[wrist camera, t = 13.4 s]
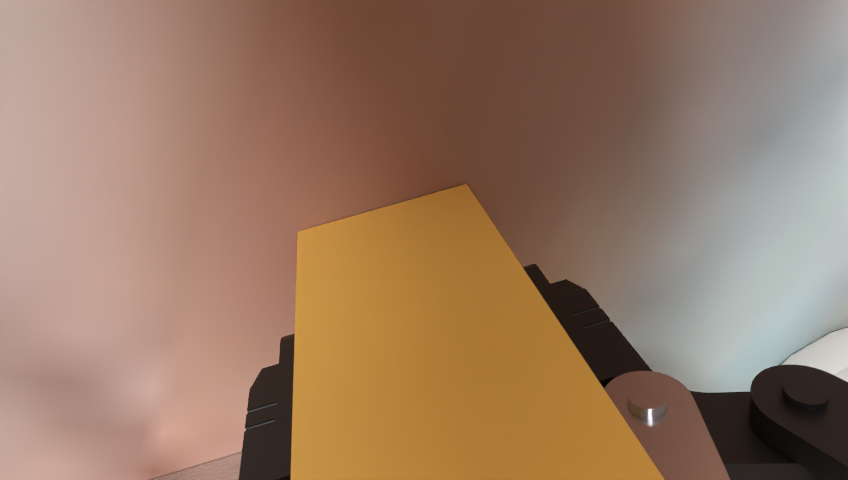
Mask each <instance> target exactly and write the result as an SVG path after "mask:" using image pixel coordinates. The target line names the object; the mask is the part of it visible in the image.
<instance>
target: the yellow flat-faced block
mask: <svg viewBox="0 0 848 480" xmlns="http://www.w3.org/2000/svg"><path fill="white" fill-rule="evenodd" d="M291 480H665V479H664V478H663V476H662V475H661V473H660V472H659V470H658V469H657V467H656V466H655V464H654V463H653V461H652V460H651V458H650V457H649V455H648V454H647V452H646V451H645V449H644V448H643V446H642V445H641V444H640V442H639V441H638V439H637V438H636V436H635V435H634V433H633V432H632V430H631V429H630V427H629V426H628V424H627V423H626V421H625V420H624V418H623V417H622V415H621V414H620V412H619V411H618V409H617V408H616V406H615V405H614V403H613V402H612V400H611V399H610V397H609V396H608V394H607V393H606V391H605V390H604V388H603V387H602V385H601V384H600V382H599V381H598V379H597V378H596V376H595V375H594V373H593V372H592V370H591V369H590V367H589V366H588V364H587V363H586V361H585V360H584V358H583V357H582V355H581V354H580V352H579V351H578V349H577V348H576V346H575V345H574V343H573V342H572V340H571V339H570V337H569V336H568V334H567V333H566V331H565V330H564V328H563V327H562V325H561V324H560V322H559V321H558V319H557V318H556V317H555V315H554V314H553V312H552V311H551V309H550V308H549V306H548V305H547V303H546V302H545V300H544V299H543V297H542V296H541V294H540V293H539V291H538V290H537V288H536V287H535V285H534V284H533V282H532V281H531V279H530V278H529V276H528V275H527V273H526V272H525V270H524V269H523V267H522V266H521V264H520V263H519V261H518V260H517V258H516V257H515V255H514V254H513V252H512V251H511V249H510V248H509V246H508V245H507V243H506V242H505V240H504V239H503V237H502V236H501V234H500V233H499V231H498V230H497V228H496V227H495V225H494V224H493V222H492V221H491V219H490V218H489V216H488V215H487V213H486V212H485V210H484V209H483V207H482V206H481V204H480V203H479V201H478V200H477V198H476V197H475V195H474V194H473V192H472V191H471V190H470V188H469V187H468V185H467V184H464V185H460V186H457V187H453V188H450V189H446V190H443V191H439V192H436V193H432V194H429V195H425V196H422V197H418V198H414V199H411V200H407V201H404V202H400V203H397V204H393V205H390V206H386V207H383V208H379V209H376V210H372V211H369V212H365V213H362V214H358V215H354V216H351V217H347V218H344V219H340V220H337V221H333V222H330V223H326V224H323V225H319V226H316V227H312V228H309V229H305V230H301V231H298V238H297V272H296V307H295V341H294V376H293V411H292V445H291Z"/></svg>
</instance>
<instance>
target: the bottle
mask: <svg viewBox="0 0 848 480" xmlns="http://www.w3.org/2000/svg"><path fill="white" fill-rule="evenodd" d="M788 364H789V365H803V366H809V367H813V368H817V369H820V370H823V371H826V372H828V373H830V374H832V375H835V376H837V377H839V378H841V379H843V380H845V381H846V382H848V327H847V328H844V329H841V330H837V331H834V332H831V333H828V334H826V335H825V336H823V337H821V338H820V339H818V340H816V341H814V342H813V343H811V344H809V345H808V346H806V347H804V348H803V349H801V350H799V351H797V352H796V353H794V354H792V355H791V356H790V357H789V358H788V359H786V360H785V361H784V362H783V363H782V364H781V365H788Z"/></svg>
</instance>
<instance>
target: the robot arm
mask: <svg viewBox="0 0 848 480" xmlns="http://www.w3.org/2000/svg"><path fill="white" fill-rule="evenodd" d="M523 269H524V270H525V272H526V273H527V275H528V276H529V278H530V279H531V281H532V282H533V284H534V285H535V287H536V288H537V290H538V291H539V293H540V294H541V296H542V297H543V299H544V300H545V302H546V303H547V305H548V306H549V308H550V309H551V311H552V312H553V314H554V315H555V317H556V318H557V319H558V321H559V322H560V324H561V325H562V327H563V328H564V330H565V331H566V333H567V334H568V336H569V337H570V339H571V340H572V342H573V343H574V345H575V346H576V348H577V349H578V351H579V352H580V354H581V355H582V357H583V358H584V360H585V361H586V363H587V364H588V366H589V367H590V369H591V370H592V372H593V373H594V375H595V376H596V378H597V379H598V381H599V382H600V384H601V385H602V387H603V388H604V390H605V391H606V393H607V394H608V396H609V397H610V399H611V400H612V402H613V403H614V405H615V406H616V408H617V409H618V411H619V412H620V414H621V415H622V417H623V418H624V420H625V421H626V423H627V424H628V426H629V427H630V429H631V430H632V432H633V433H634V435H635V436H636V438H637V439H638V441H639V442H640V444H641V445H642V446H643V448H644V449H645V451H646V452H647V454H648V455H649V457H650V458H651V460H652V461H653V463H654V464H655V466H656V467H657V469H658V470H659V472H660V473H661V475H662V476H663V478H664V479H665V480H848V382H846V381H845V380H843V379H841V378H839V377H837V376H835V375H832V374H830V373H828V372H826V371H823V370H820V369H817V368H813V367H809V366H803V365H789V364H788V365H778V366H774V367H770V368H768V369H765V370H763V371H762V372H760V373H759V374H758V375H757V376H756V377H755V378H754V380H753V381H752V385H751V391H750V392H726V393H701V392H693V391H689V390H688V389H687V388H686V387H685V386H684V385H683V384H682V383H680V382H679V381H677V380H676V379H674V378H672V377H670V376H667V375H665V374H661V373H657V372H653V371H652V370H651V369H650V368H649V367H648V365H647V364H646V363H645V362H644V360H643V359H642V358H641V357H640V356H639V354H638V353H637V352H636V351H635V349H634V348H633V347H632V346H631V344H630V343H629V342H628V341H627V339H626V338H625V337H624V336H623V335H622V333H621V332H620V331H619V330H618V328H617V327H616V326H615V325H614V323H613V322H610V319H609V317H608V316H607V315H606V313H605V312H604V311H603V310H602V309H600V308H599V305H598V304H597V302H596V301H595V300H594V299H593V297H592V296H591V295H590V294H589V292H588V291H587V290H586V289H584V288H582V287H580V286H578V285H576V284H574V283H572V282H570V281H568V280H566V279H565V280H562V281H559V282H555V283H552V284H550V283H549V282H548V280H547V279H546V277H545V276H544V275H543V273H542V272H541V270H540V269H539V268H538V266H537V265H536V264H532V265H529V266H525V267H523ZM294 341H295V334H292V335H288V336H285V337H282V338H281V342H280V357H279V364H276V365H273V366H270V367H266V368H263V369H262V370H261V371H260V373H259V375H258V376H257V378H256V380H255V382H254V383H253V385H252V387H251V388H250V392H249V400H248V408H247V411H248V414H247V416H246V424H245V428H246V431H245V432H244V440H243V448H242V456H241V464H240V472H239V480H291V445H292V411H293V376H294Z"/></svg>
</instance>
